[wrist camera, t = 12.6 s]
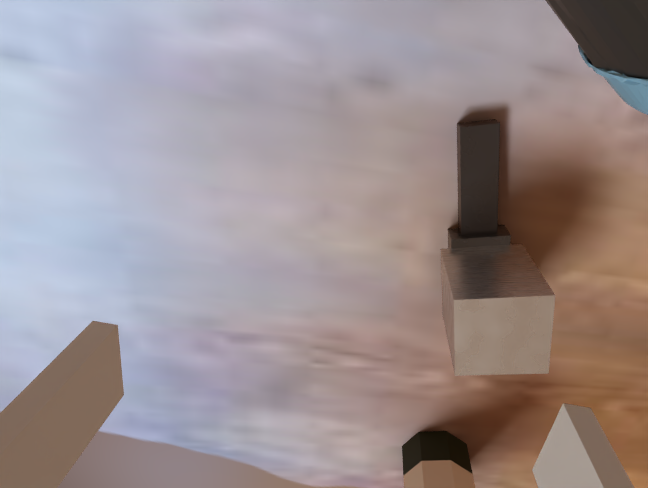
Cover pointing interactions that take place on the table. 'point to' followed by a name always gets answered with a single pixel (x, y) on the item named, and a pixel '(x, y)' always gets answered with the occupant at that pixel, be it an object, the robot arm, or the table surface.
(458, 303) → the grey rectangular block
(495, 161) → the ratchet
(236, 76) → the table surface
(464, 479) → the wine bottle
